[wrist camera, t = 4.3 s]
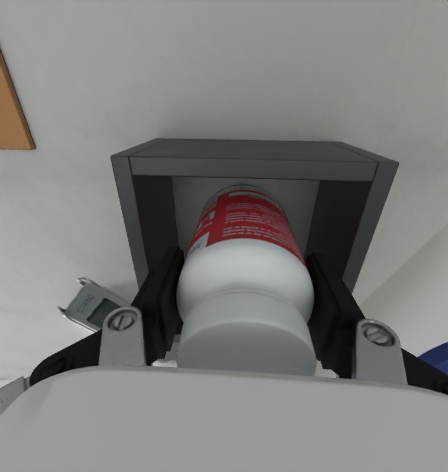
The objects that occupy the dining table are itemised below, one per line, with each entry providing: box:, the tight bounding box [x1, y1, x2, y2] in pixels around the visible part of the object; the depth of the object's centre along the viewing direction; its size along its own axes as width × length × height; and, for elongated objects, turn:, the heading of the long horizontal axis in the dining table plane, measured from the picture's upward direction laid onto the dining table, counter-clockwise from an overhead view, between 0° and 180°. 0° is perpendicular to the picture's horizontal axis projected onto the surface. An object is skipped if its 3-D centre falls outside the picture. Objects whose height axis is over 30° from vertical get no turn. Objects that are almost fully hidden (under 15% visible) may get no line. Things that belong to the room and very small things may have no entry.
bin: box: [110, 138, 399, 342], centre depth 15 cm, size 12×12×6 cm
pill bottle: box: [176, 185, 316, 376], centre depth 13 cm, size 6×6×11 cm
